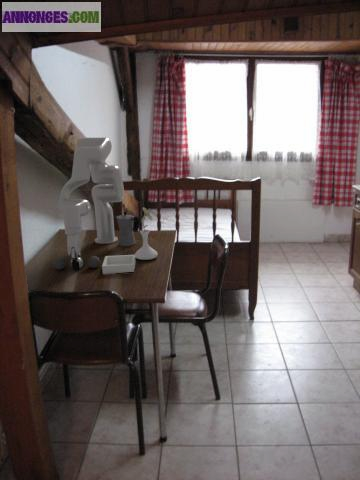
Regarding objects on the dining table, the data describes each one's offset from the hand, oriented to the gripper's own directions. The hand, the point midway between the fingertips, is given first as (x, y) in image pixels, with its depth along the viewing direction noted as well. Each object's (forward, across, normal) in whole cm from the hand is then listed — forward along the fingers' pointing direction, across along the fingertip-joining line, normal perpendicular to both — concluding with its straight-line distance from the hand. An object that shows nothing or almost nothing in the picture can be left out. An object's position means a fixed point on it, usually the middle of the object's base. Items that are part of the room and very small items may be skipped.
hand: (77, 266), depth 223 cm
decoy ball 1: (-2, 0, -8) cm, 8 cm away
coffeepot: (+1, -35, +22) cm, 41 cm away
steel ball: (-2, 0, 0) cm, 2 cm away
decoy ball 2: (-2, 0, +8) cm, 8 cm away
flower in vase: (+1, -11, +32) cm, 34 cm away
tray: (+1, +3, +20) cm, 20 cm away
